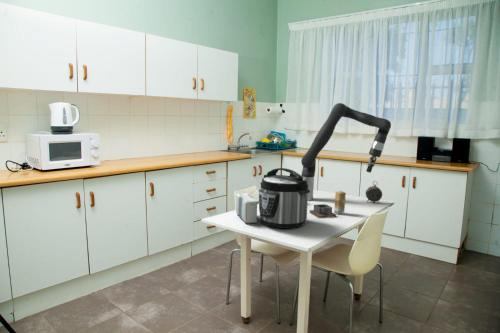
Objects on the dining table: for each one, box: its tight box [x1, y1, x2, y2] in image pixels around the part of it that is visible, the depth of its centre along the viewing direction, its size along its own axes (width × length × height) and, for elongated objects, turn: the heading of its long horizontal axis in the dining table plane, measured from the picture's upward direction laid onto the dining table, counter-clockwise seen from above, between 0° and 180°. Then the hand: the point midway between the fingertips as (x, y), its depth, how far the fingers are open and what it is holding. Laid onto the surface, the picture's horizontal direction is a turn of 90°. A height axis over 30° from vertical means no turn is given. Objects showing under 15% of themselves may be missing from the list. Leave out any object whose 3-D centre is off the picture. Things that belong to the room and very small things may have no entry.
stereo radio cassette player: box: [235, 189, 259, 224], centre depth 210 cm, size 21×8×20 cm, turn 17°
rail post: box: [333, 190, 347, 216], centre depth 227 cm, size 4×4×14 cm
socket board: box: [309, 203, 337, 219], centre depth 224 cm, size 12×12×6 cm
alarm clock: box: [365, 180, 383, 204], centre depth 257 cm, size 11×5×16 cm, turn 84°
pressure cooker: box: [258, 167, 310, 229], centre depth 203 cm, size 30×28×32 cm
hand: (368, 172), depth 238 cm, fingers open, 8 cm apart
